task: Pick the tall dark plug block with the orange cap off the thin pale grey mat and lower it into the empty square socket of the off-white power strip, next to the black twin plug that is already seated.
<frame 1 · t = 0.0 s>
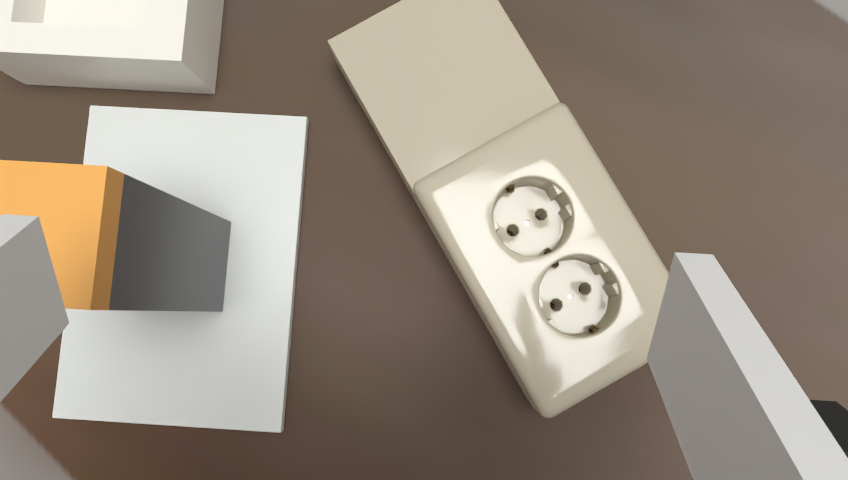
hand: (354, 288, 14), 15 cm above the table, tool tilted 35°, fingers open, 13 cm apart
electrical outlet: (499, 195, 30), on the table
tray: (186, 264, 29), on the table
plug: (182, 263, 29), resting on tray
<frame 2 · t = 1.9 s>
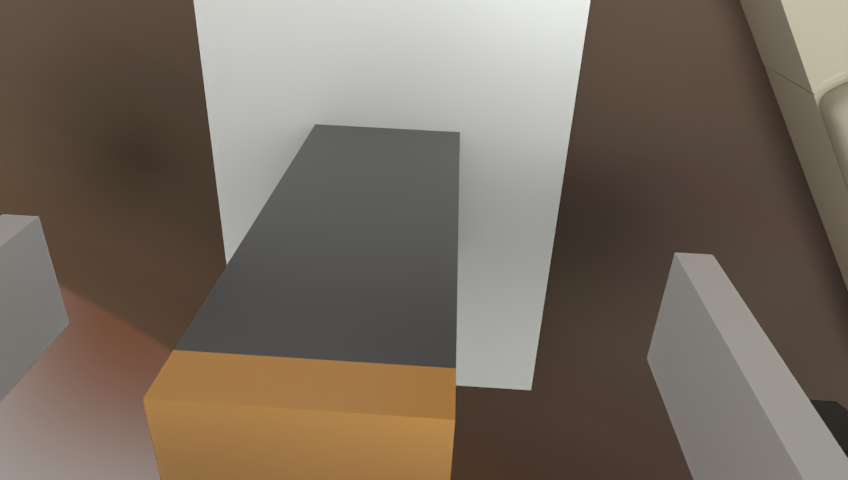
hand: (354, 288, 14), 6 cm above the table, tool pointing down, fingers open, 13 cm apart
tray: (388, 187, 19), on the table
plug: (386, 194, 19), resting on tray
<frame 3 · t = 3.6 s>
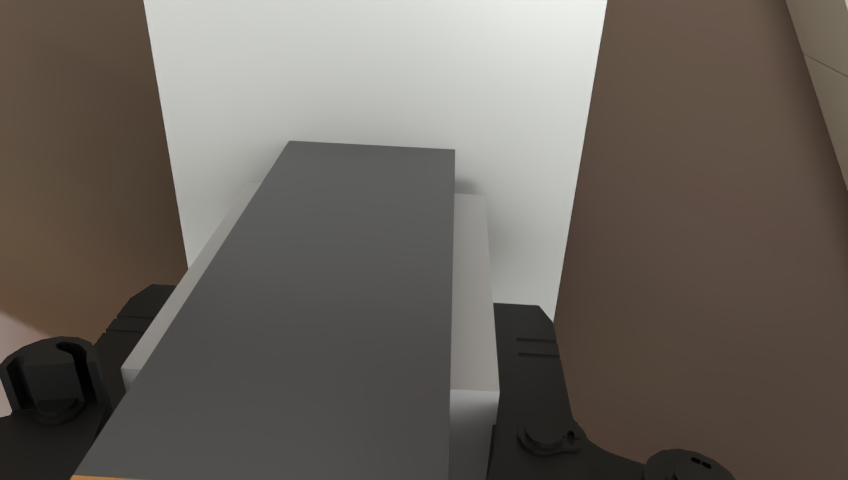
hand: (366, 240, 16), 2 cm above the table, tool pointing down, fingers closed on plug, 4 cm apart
tray: (374, 209, 17), on the table
plug: (372, 218, 17), point 1 cm above the table, touching gripper, tray
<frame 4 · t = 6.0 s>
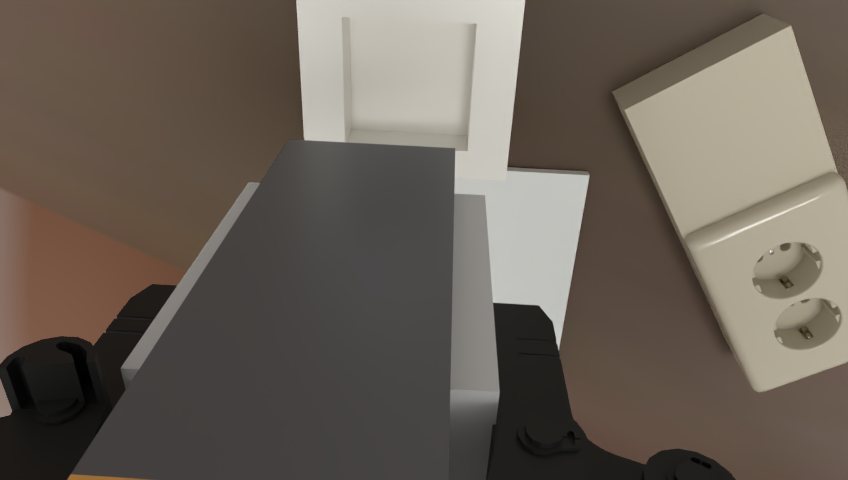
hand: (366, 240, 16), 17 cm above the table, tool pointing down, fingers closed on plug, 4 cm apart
electrical outlet: (741, 202, 34), on the table
tray: (478, 281, 36), on the table
plug: (371, 217, 17), point 16 cm above the table, touching gripper
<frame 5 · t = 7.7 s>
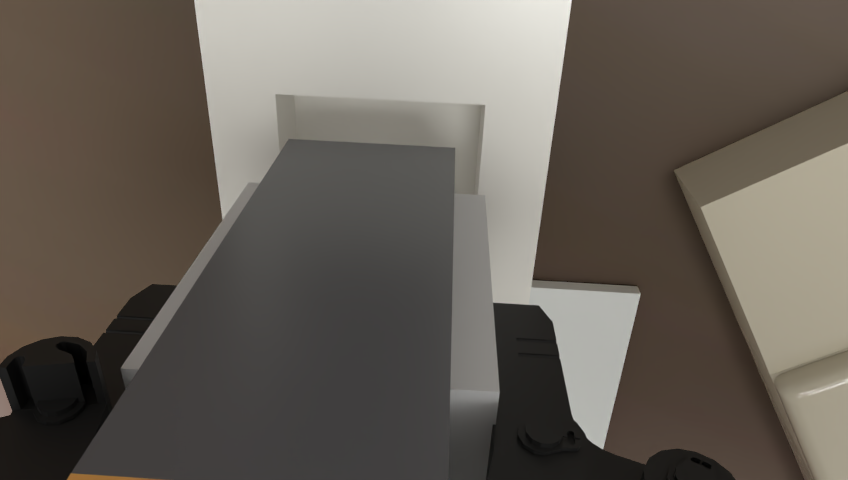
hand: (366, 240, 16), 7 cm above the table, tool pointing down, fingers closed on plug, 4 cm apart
electrical outlet: (843, 315, 25), on the table
tray: (484, 418, 27), on the table
plug: (371, 217, 17), point 6 cm above the table, touching gripper
when the fingers open (6 cm above the table, at t = 8.8 s): plug drops 3 cm, resting on socket strip.
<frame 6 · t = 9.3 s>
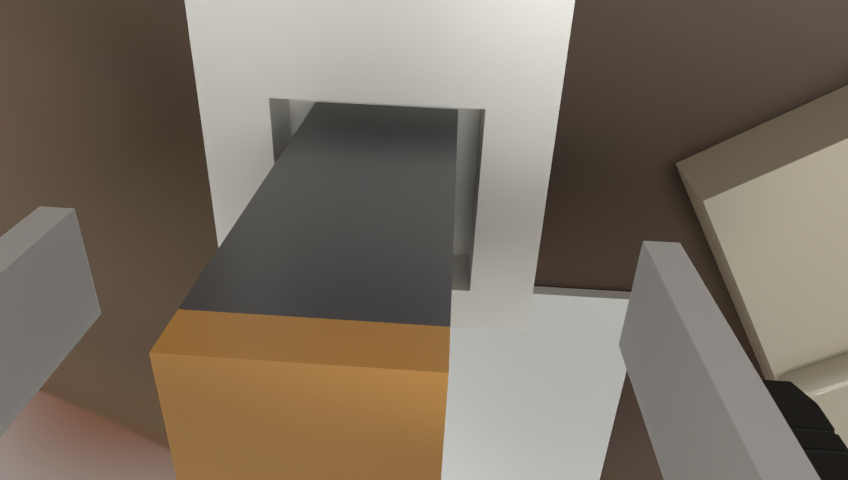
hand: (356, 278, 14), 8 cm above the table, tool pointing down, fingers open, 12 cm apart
tray: (484, 426, 27), on the table
socket strip: (392, 0, 19), on the table
plug: (386, 171, 19), point 2 cm above the table, touching socket strip
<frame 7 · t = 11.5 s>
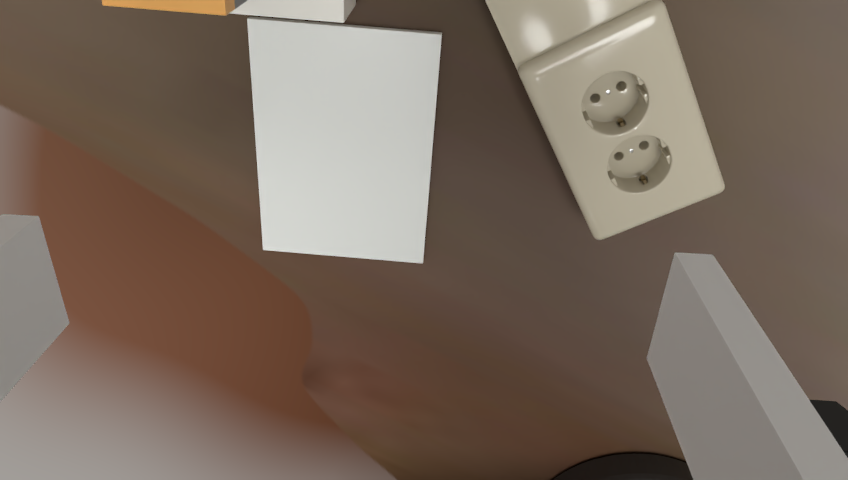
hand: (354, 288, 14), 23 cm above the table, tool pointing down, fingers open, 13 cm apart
electrical outlet: (587, 47, 34), on the table
tray: (344, 149, 37), on the table
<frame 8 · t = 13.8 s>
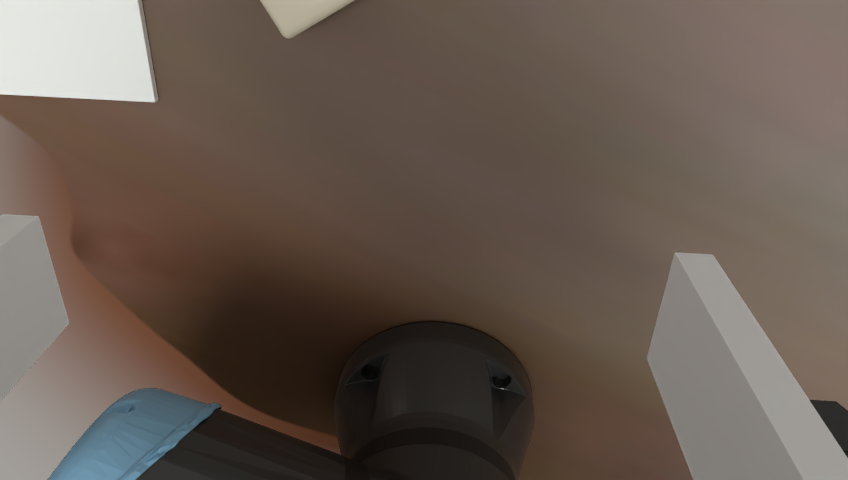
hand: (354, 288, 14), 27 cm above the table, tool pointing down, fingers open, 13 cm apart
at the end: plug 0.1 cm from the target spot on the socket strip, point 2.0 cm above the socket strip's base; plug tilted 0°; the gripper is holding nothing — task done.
